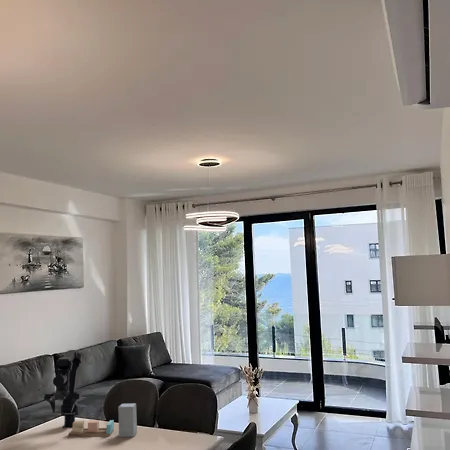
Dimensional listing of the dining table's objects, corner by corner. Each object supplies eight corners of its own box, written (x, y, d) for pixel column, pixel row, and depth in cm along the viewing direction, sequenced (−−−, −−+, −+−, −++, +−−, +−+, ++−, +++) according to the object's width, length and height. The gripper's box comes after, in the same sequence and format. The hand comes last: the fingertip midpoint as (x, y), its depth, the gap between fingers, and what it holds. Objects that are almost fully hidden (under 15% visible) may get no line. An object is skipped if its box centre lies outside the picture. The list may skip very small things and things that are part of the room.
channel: (73, 431, 252) (73, 428, 252) (113, 430, 253) (113, 427, 253) (68, 437, 243) (68, 433, 244) (110, 436, 244) (110, 432, 244)
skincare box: (137, 433, 248) (137, 402, 250) (133, 437, 241) (133, 406, 243) (121, 433, 249) (122, 402, 251) (117, 437, 242) (118, 406, 244)
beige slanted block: (74, 430, 250) (75, 420, 251) (84, 430, 250) (84, 420, 251) (72, 433, 246) (72, 423, 246) (81, 432, 246) (82, 422, 247)
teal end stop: (109, 428, 253) (110, 420, 254) (113, 428, 253) (113, 420, 254) (106, 433, 244) (106, 425, 245) (110, 433, 244) (110, 425, 245)
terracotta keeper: (89, 430, 250) (89, 420, 251) (98, 429, 251) (99, 420, 251) (87, 432, 246) (87, 422, 247) (96, 432, 246) (97, 422, 247)
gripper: (40, 386, 241) (39, 417, 239) (76, 385, 241) (75, 416, 240) (47, 381, 252) (47, 410, 250) (82, 380, 253) (81, 410, 251)
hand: (62, 412), depth 248 cm, fingers open, 9 cm apart
